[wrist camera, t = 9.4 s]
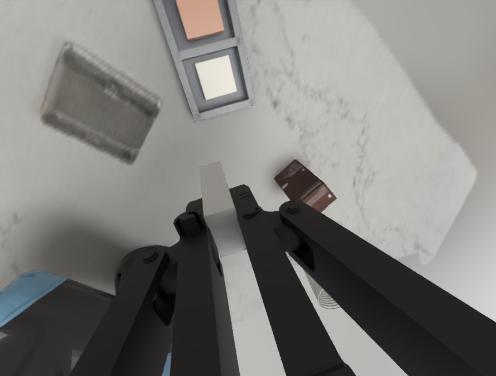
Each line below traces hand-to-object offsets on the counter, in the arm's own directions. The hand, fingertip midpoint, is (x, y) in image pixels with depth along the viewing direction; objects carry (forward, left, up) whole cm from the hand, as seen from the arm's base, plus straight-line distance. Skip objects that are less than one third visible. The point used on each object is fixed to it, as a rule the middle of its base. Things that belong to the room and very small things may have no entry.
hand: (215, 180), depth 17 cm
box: (+14, -15, -25) cm, 32 cm away
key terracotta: (+4, +14, -22) cm, 26 cm away
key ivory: (+4, +6, -23) cm, 24 cm away
